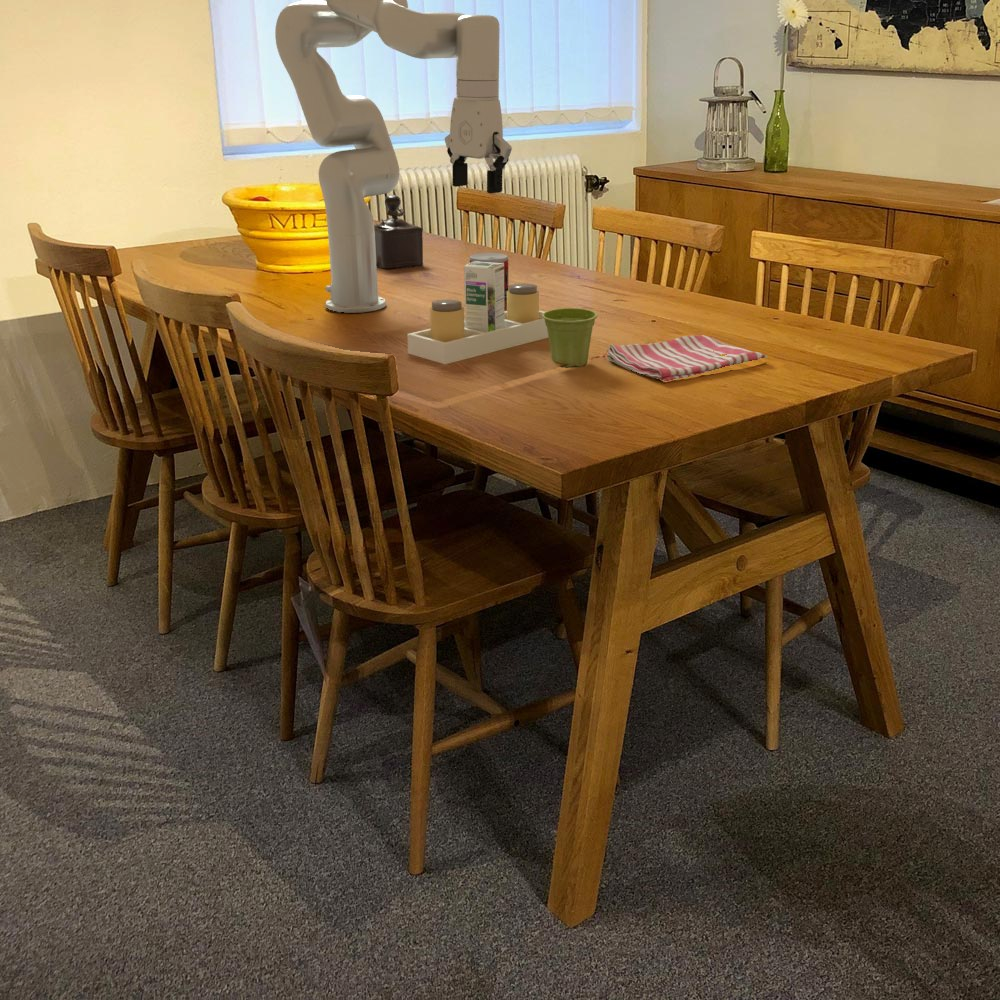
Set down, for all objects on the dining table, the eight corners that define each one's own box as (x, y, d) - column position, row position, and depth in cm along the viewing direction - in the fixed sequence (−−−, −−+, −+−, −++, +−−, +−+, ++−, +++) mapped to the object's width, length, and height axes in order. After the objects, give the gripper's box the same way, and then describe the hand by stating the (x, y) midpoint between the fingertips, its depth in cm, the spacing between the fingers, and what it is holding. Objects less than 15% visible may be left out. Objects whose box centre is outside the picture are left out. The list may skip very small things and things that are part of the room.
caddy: (408, 357, 204) (407, 333, 203) (523, 328, 222) (523, 306, 221) (445, 368, 198) (444, 344, 196) (561, 338, 216) (561, 315, 214)
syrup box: (464, 345, 208) (462, 265, 203) (477, 337, 213) (475, 259, 208) (493, 348, 206) (492, 267, 201) (506, 340, 211) (505, 261, 206)
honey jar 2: (500, 334, 216) (500, 286, 212) (523, 328, 219) (523, 281, 216) (522, 339, 212) (522, 291, 208) (545, 333, 215) (545, 286, 212)
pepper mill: (366, 263, 286) (362, 189, 279) (407, 259, 291) (404, 185, 284) (391, 274, 273) (387, 196, 266) (433, 269, 278) (430, 193, 271)
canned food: (504, 314, 234) (504, 260, 230) (466, 313, 235) (465, 259, 231) (512, 305, 241) (511, 253, 237) (474, 304, 242) (473, 252, 238)
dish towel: (602, 363, 201) (603, 344, 200) (708, 345, 211) (709, 326, 210) (661, 388, 187) (661, 367, 186) (771, 367, 198) (772, 347, 196)
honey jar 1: (424, 353, 204) (422, 303, 201) (449, 346, 208) (448, 297, 204) (446, 359, 200) (444, 308, 196) (472, 352, 204) (470, 302, 200)
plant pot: (580, 373, 194) (581, 323, 190) (532, 366, 198) (532, 316, 195) (605, 360, 201) (607, 311, 198) (558, 353, 206) (559, 305, 202)
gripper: (430, 88, 207) (431, 185, 214) (493, 94, 195) (492, 197, 202) (462, 86, 212) (462, 181, 219) (526, 93, 200) (524, 193, 207)
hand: (477, 189), depth 210 cm, fingers open, 9 cm apart
